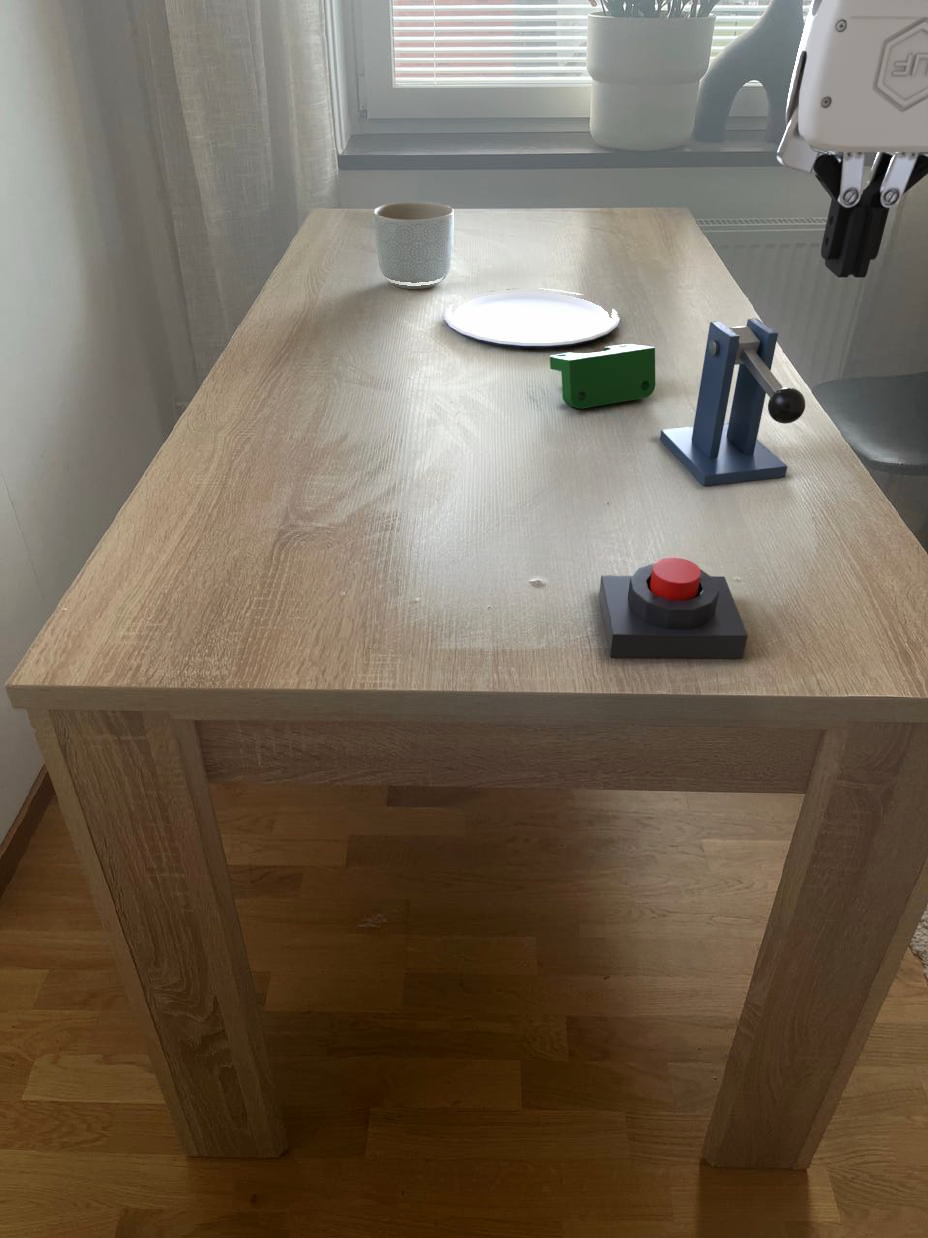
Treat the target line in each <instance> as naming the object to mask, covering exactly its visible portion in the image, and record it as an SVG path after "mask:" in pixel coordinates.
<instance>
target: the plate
mask: <svg viewBox="0 0 928 1238" xmlns="http://www.w3.org/2000/svg"><path fill="white" fill-rule="evenodd" d="M538 288H539V287H538ZM539 289H541V288H539ZM543 289H544V290H549V291H554V292H558V293H562V292H563V293H569V294H573V295H574V294H576V295H583V294H582V293H578V292H572V291H566V290H561V289H551V288H543ZM452 303H453V304H452ZM452 303H451V304H452V305H454V302H452ZM451 304H450V305H451ZM450 305H449V306H450ZM452 305H451V306H450V307H449V306H448V307H449V308H448V307H447V308H446V309H447V310H446V309H445V310H446V311H445V310H444V313H445V315H444V316H443V321H444V322H445V323H446V324H447V326H448V327H449V328H450V329H451V330H453V331H455V332H456V333H457V334H459V335H461V336H463V337H466V338H469V339H472V340H474V341H478V342H482V343H487V344H491V345H496V346H502V347H514V348H523V349H548V348H549V349H550V348H560V347H571V346H576V345H580V344H585V343H590V342H594V341H597V340H598V339H601V338H604V337H606V336H608V335H609V334H611V333H612V332H613V331H615V330H616V329H617V328H618V326H619V323H620V320H621V319H620V316H619V314H618V311H617V310H616V309H614V308H613V309H612V313H611V314H612V315H611V317H612V318H610V317H609V314H608V312H607V311H605V310H604V309H603V308H602V307H601V306H599V305H596V304H594V303H592V302H590V301H587V300H584V299H580V298H576V297H573V296H567V295H561V294H554V293H542V292H512V293H500V294H494V295H488V296H483V297H479V298H476V299H473V300H470V301H468V302H466V303H464V304H462V305H460V306H459V307H458V308H457V309H456V310H455V311H454V316H453V313H452V312H451V309H453V308H452V307H453V306H452ZM617 314H618V315H617ZM618 316H619V317H618Z"/></svg>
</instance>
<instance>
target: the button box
mask: <svg viewBox="0 0 928 1238" xmlns="http://www.w3.org/2000/svg"><path fill="white" fill-rule="evenodd" d="M654 563H655V562H652V563H650V564H647V565H644V566H640V567H638V568H637V569H636V571H635V572H634V573H633V575H604V574H603V575H601V576H600V581H599V582H600V583H599V592H598V600H599V605H600V610H601V616H602V622H603V625H604V626H603V627H604V631H605V639H606V643H607V649H608V655H609V657H610V658H626V659H627V658H629V659H630V658H632V659H634V658H637V659H639V658H640V659H641V658H643V659H736V660H737V659H738V660H739V659H743V658H744V653H745V650H746V645H747V641H748V633H747V631H746V628H745V626H744V623H743V620H742V618H741V615H740V613H739V610H738V607H737V604H736V603H735V600H734V597H733V595H732V593H731V590H730V587H729V585H728V582H727V579H726V577H725V576H723V575H722V576H719V575H718V576H717V575H716V576H714V575H713V576H712V575H710V574H708V573H707V572H705V571H704V570H703V569H701V568H699V569H700V571H701V576H700V582H699V587H698V593H697V595H696V596H695V597H694V598H692V599H690V600H687V601H686V600H669V599H665V598H662V597H659V596H657V595H655V594H654V593H653V592H652V591H651V589H650V582H651V575H652V568H653V565H654Z"/></svg>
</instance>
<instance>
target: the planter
mask: <svg viewBox="0 0 928 1238" xmlns="http://www.w3.org/2000/svg"><path fill="white" fill-rule="evenodd" d="M372 222H373V223H372V224H373V233H374V240H375V241H374V243H375V248H376V255H377V261H378V266H379V270H380V272H381V274H382V276H383V275H384V276H385V277H387V278H389V279H391V280H395V281H400V282H411V283H417V282H418V283H419V282H429V281H435V280H437V279H440V278H442V277H444V276H446V275H447V276H448V274H449V272H450V269H451V265H452V257H453V247H454V246H453V243H454V229H455V228H454V227H455V210H454V209H453V208H452V207H451V206H449V205H446V204H442V203H437V202H432V201H431V202H430V201H399V202H392V203H387V204H383V205H380V206H377V207H375V208H374V209H373V210H372ZM384 276H383V277H384ZM447 276H446V277H447ZM385 277H384V278H385ZM389 283H390V284H391V285H393V286H395V287H398V288H400V289H406V290H424V289H430V288H433V287H435V286H437V285H438V284H440V283H442V281H440V282H438V283H434V284H430V285H421V286H407V285H399V284H395V283H391V282H389Z"/></svg>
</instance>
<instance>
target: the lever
mask: <svg viewBox="0 0 928 1238" xmlns="http://www.w3.org/2000/svg"><path fill="white" fill-rule="evenodd" d="M728 328H729V329H730V330H732V331H733V332H735V333H736V334H737V335H739V336H740V338H739V343H738V349H737V354H736V360H735V366H736V365H738V366H739V364H745V365H746V367H747V368H748V369H749V371H750V372H751V373H752V375H753V376H754V377H755V379H756V380H757V381H758V383H759V384H760V385H761V387H762V388H763V389H764V391H765V392H766V395H767V396H768V397H769V399H768V403H767V410H768V411H767V412H768V414H769V416H770V418H772V420H774V421H775V422H777V423H778V424H783V425H784V424H791V423H795V422H796V421H797V420H799V419H800V418H801V416H802V415H803V414H804V412H805V409H806V400H805V396H804V395H803V393H802V392H801V391H800V390H798V389H797V388H794V387H788V386H787V387H783V385H782V383H781V382H780V381H779V380H778V378H777V377H776V376H775V375H774V373H773V372H772V370H771V371H770V370H769V368H768V367H767V366H766V365H765V363H764V362H763V361H762V359H761V358H760V357H759V356H758V354H757V350H758V347H759V344H760V341H759V339H758V338H757V337H756V336H755V334H754V333H753V332H752V331H751V329H750V328H749V327H748V326H747V325H746V326H735V327H734V326H733V327H728Z"/></svg>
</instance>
